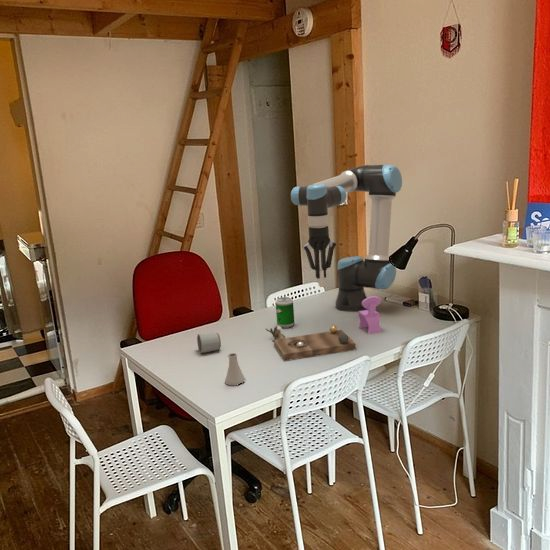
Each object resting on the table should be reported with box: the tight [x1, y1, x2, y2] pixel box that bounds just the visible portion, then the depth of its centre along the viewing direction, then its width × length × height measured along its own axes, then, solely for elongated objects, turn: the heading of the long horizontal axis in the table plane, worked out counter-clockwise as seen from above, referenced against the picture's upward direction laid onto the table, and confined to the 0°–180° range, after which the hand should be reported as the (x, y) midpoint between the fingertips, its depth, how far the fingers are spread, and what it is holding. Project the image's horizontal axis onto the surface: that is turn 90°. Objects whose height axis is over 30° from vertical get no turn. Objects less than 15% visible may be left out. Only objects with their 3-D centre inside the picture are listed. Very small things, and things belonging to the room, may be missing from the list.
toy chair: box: [358, 295, 383, 335], centre depth 236 cm, size 8×9×15 cm
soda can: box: [275, 296, 295, 329], centre depth 248 cm, size 8×8×12 cm
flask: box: [224, 352, 246, 386], centre depth 196 cm, size 7×7×10 cm
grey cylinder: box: [196, 331, 222, 354], centre depth 228 cm, size 11×8×8 cm
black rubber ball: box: [338, 332, 349, 343], centre depth 218 cm, size 4×4×4 cm
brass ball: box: [329, 325, 338, 333], centre depth 229 cm, size 3×3×3 cm
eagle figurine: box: [265, 325, 286, 343], centre depth 232 cm, size 8×7×9 cm
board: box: [273, 329, 357, 361], centre depth 222 cm, size 28×16×2 cm, turn 103°
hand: (321, 286), depth 224 cm, fingers closed
